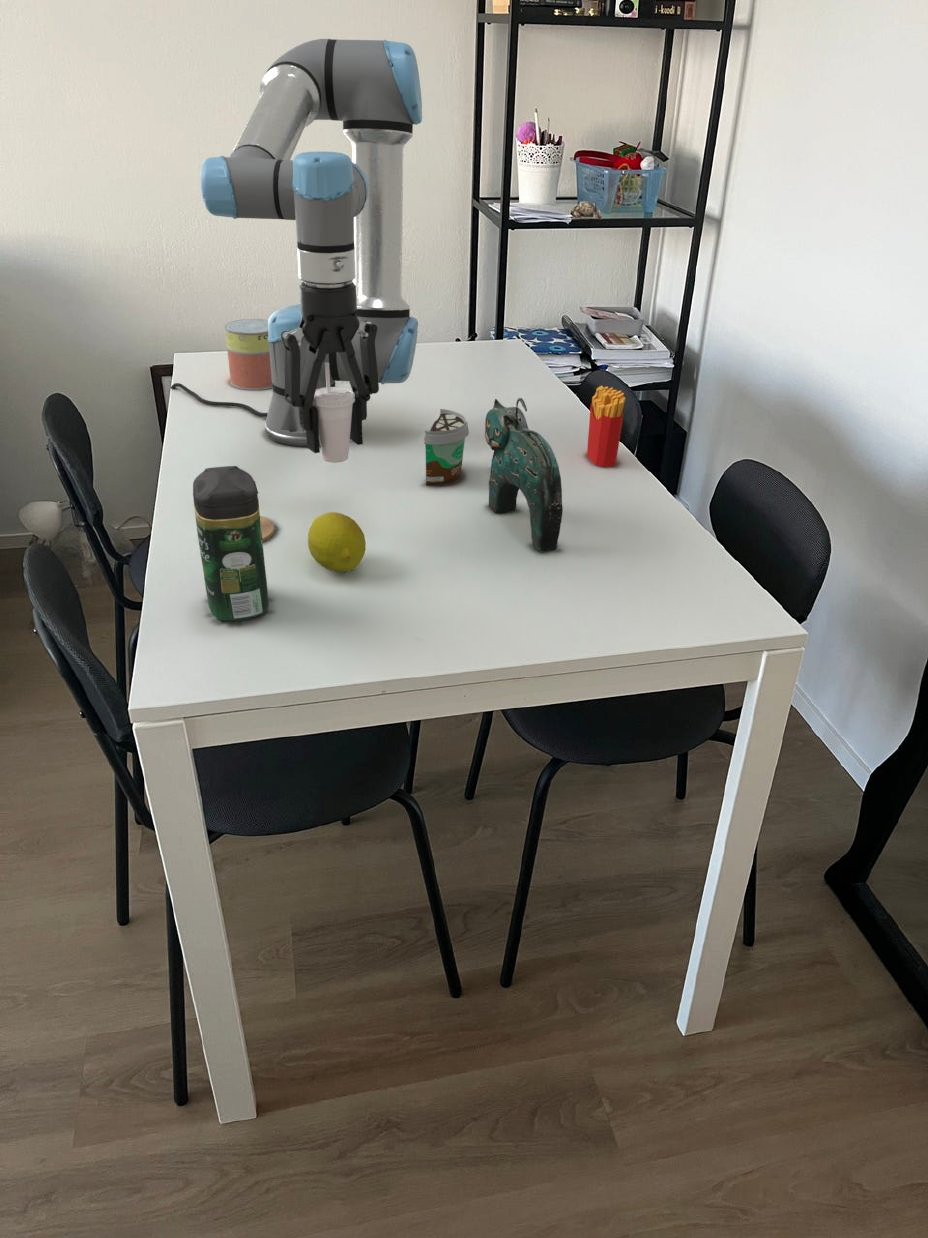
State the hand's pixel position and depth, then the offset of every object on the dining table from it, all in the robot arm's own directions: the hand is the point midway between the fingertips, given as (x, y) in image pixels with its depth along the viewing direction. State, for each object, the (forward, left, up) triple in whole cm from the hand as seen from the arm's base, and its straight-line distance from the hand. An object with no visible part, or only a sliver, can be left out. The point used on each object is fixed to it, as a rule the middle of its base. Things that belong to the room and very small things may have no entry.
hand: (335, 445), depth 138 cm
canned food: (-74, +16, -14) cm, 77 cm away
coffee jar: (+14, -21, -14) cm, 29 cm away
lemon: (+10, -5, -14) cm, 18 cm away
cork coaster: (-7, -13, -14) cm, 20 cm away
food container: (-10, +26, -14) cm, 31 cm away
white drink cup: (0, 0, -2) cm, 2 cm away
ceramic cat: (+12, +26, -14) cm, 32 cm away
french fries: (-3, +54, -14) cm, 56 cm away
